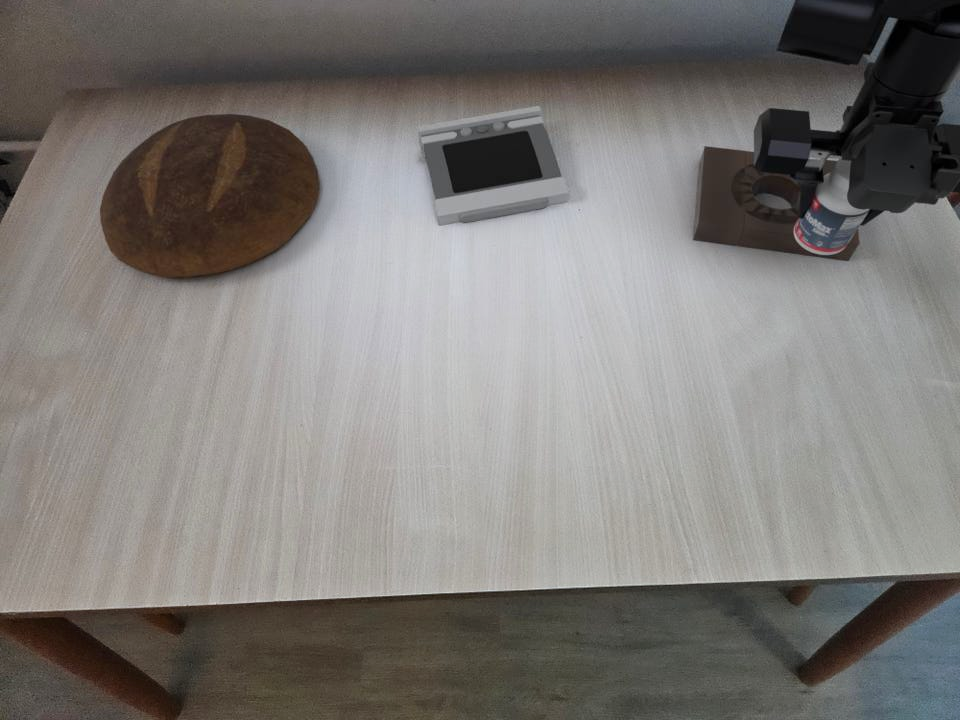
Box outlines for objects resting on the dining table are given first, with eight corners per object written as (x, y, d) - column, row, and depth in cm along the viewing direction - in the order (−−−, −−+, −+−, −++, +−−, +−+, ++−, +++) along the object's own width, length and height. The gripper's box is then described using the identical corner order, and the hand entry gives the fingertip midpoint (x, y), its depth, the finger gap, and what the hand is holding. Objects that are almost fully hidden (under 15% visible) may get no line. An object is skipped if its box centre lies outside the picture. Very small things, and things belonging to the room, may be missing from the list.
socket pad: (841, 180, 83) (851, 162, 81) (848, 261, 76) (859, 243, 74) (699, 164, 86) (704, 146, 84) (692, 240, 79) (698, 222, 77)
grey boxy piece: (538, 105, 89) (571, 176, 79) (538, 135, 93) (569, 206, 83) (417, 126, 88) (435, 201, 78) (422, 155, 92) (439, 230, 82)
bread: (82, 295, 79) (37, 246, 72) (136, 148, 94) (104, 95, 86) (311, 280, 79) (290, 230, 71) (330, 135, 93) (314, 81, 86)
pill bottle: (781, 227, 66) (815, 158, 59) (824, 212, 67) (862, 142, 60) (814, 263, 63) (854, 195, 56) (858, 247, 64) (903, 178, 57)
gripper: (789, 129, 47) (730, 268, 60) (1072, 155, 44) (945, 295, 58) (784, 42, 53) (731, 186, 66) (1035, 61, 50) (927, 208, 63)
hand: (829, 218), depth 63 cm, fingers closed on pill bottle, 5 cm apart
